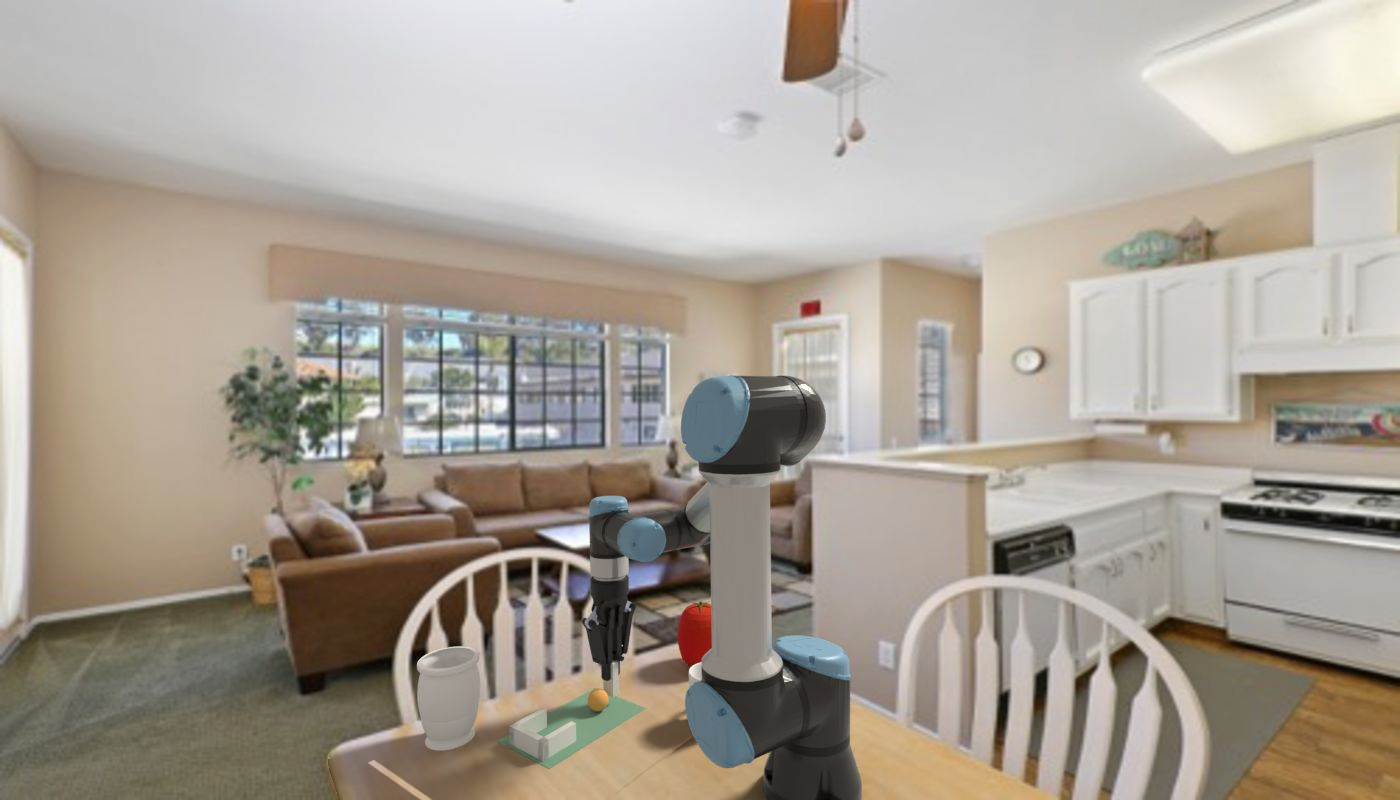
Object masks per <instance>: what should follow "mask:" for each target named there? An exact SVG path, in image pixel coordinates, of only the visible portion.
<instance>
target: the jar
mask: <svg viewBox="0 0 1400 800" xmlns="http://www.w3.org/2000/svg"><path fill="white" fill-rule="evenodd" d="M480 656H481V655H480V651H479V650H478V649H477V648H474V647H471V646H463V645H461V646H460V645H459V646H449V647H443V648H439V649H436V650H433V651H430V652H428V653H426V654H425V655H423V656H422V657H421V658H420V659H419V660H418V661H417V664H416V669H417V672H419V677H418V681H417V707H418V712H419V715H420V722H421V725H422V726H421V727H422V729H423V731H424V733H425V735H426V738H425V741H424V745H425V747H426V748H427V749H429V750H432V751H439V752H440V751H448V750H453V749H458V748H460V747H461V746H464V745H467V743H469V742H470V741H471V740H472V739H474V737H475V735H476V729H475V728H474V725H475V722H476V719H477V717H478V711H479V703H480V697H481V676H480V670H479V666H478V663H479V660H480Z"/></svg>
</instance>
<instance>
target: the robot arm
mask: <svg viewBox="0 0 1400 800" xmlns="http://www.w3.org/2000/svg"><path fill="white" fill-rule="evenodd" d="M826 417H827V416H826V408H825V405H824V402H823V399H822V398H821V396H820V394H819V393H818V392H817V390H816V389H815V388H814V387H812V385H810V384H809V383H808V382H806V381H804V380H803V379H801V378H798V377H797V376H796V377H795V376H790V375H775V376H774V375H734V374H730V375H722V376H713V377H709V378H705V379H703V380H702V381H700V382H699V383H698V384H697V385H696V386H695V387H694V388H693V389H692V392H691V393H690V394H688V396H687V398H686V400H685V403H684V405H683V409H682V413H681V417H680V418H681V419H680V420H681V421H680V434H681V439H682V443H683V444H685V447H684V450H686V453H687V455H689V458H691V459H693V460H695V461H696V462H698V473H699V474H700V475H701V476H702V477H703V478H704V479H705V480H706V482H705V484H703V486H702V487H701V488H700V489H699V490H697V492H696V493H695V494H694V495H693V496H692V497H691V498H690V499H689V501H688V502H686V503H685V504H684V505H683V506H682V507H681V508H674V509H669V510H664V511H663V510H662V511H658V512H657V511H656V512H650V513H643V514H635V513H631V512H629V510H630V509H629V505H628V500H627V498H626V497H624V496H621V495H602V496H597V497H594V498H592V499H591V500H590V502H589V515H588V524H589V525H588V526H589V527H588V528H589V530H588V531H589V532H588V533H589V569H590V570H589V573H590V575H591V577H590V579H589V581H590V583H589V585H590V587H589V592H590V596H591V599H592V606H591V613H590V614H589V616H588V617H583V619H581V623H582V625H583V627H584V628H585V631H586V635H587V640H588V645H589V650H590V655H591V659H592V662H593V663H595V664H598V665H600V670H601V671H600V672H601V673H600V674H601V676H600V677H601V680H603V682H602V683H603V686H602V690H604V691H605V692H606V693H607V695H609V696H611V697H615V696H618V695H619V693H620V692H619V689H620V688H619V675H620V673H621V662H624V660H625V656H623V655H626V654H627V653H628V651H629V646H630V645H629V644H630V639H631V638H630V637H631V630H632V624H633V618H634V617H633V616H634V614H635V611H636V608H637V603H635V602H631V601H629V599H628V595H629V593H630V580H629V579H630V577H629V576H628V574H629V571H630V570H629V569H630V568H629V567H630V566H629V565H630V564H629V559H630V560H633V561H637V562H641V563H648V562H652V561H653V562H654V561H655V559H657V558H658V557H659V556H660V555H662V553H666V552H667V553H668V552H672V551H675V550H682V549H686V548H687V549H688V548H694V547H698V546H699V547H700V546H706V545H708V544H709V546H710V549H709V550H710V552H709V553H710V598H711V599H710V604H711V624H712V648H711V649H710V650H709V651H708V652H707V653H706V654H705V655H704V656H703V658H702V663H701V673H702V679H701V681H700V682H694V684H693V685H692V686H690V688H689V687H688V690H687V691H686V693H685V697H684V708H685V714H686V718H687V722H688V726H689V729H690V732H691V733H692V736H693V738H694V740H695V741H696V743H697V745H698V747H699V748H700V750H701V752H702V753H703V754H704V755H705V756H706V758H708V759H709V761H710V762H712V763H713V764H714V765H716V766H718V767H720V768H723V769H733V768H736V767H738V766H741V765H744V764H747V765H748V764H751V763H752V762H753V761H754V760H756V759H758V758H760V757H763V756H765V755H767V754H768V756H767V758H766V762H765V764H764V768H763V775H762V776H763V778H762V780H763V783H762V785H763V787H762V788H763V792H764V795H765V797H766V799H767V800H862V798H863V797H862V796H863V795H862V794H863V791H862V790H863V784H862V783H863V782H862V777H861V773H860V772H859V767H858V765H857V762H856V758H855V755H854V753H853V749H852V745H851V680H852V675H851V674H850V673H851V672H850V670H851V669H850V659H849V656H848V654H847V652H846V651H845V650H844V649H843V648H842V647H841V646H839V645H838V644H836V643H833V642H832V641H829V640H826V639H823V638H819V637H816V636H810V635H809V636H808V635H799V634H798V635H794V634H791V635H786V636H781V637H778V638H777V639H776V640H775V641H774V646H773V643H772V641H773V639H772V638H773V637H772V630H773V629H772V627H773V626H772V557H771V556H772V555H771V551H772V549H771V482H772V481H773V480H774V479H775V478H776V477H777V476H778V475H779V473H781V471H782V470H783V468H786V467H787V468H789V467H790V468H791V467H794V466H796V465H798V464H799V463H800V462H801V461H802V460H803V459H804V458H805V457H806V456H808V455H809V454H810V453H811V452H812V450H814V448H815V447H816V446H817V445H818V443H819V442H820V441H821V438H822V436H823V434H824V431H825V428H826V422H827V421H826V420H827V419H826Z"/></svg>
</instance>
